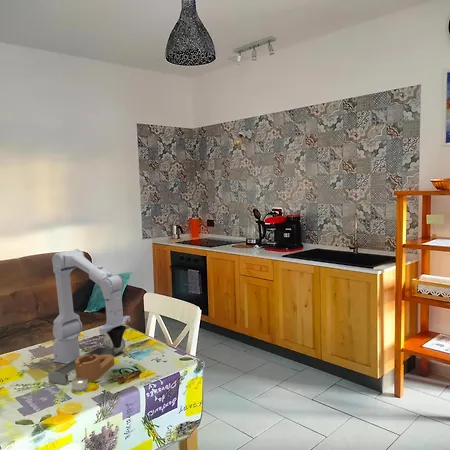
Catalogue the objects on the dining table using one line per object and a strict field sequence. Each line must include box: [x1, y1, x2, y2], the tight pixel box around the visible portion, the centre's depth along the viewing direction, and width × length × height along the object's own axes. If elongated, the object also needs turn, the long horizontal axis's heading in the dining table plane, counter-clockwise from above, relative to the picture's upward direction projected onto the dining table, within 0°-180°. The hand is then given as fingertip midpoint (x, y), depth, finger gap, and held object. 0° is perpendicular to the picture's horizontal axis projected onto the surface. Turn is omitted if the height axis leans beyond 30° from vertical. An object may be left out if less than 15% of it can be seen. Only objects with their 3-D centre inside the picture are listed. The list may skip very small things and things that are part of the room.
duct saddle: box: [47, 337, 126, 386], centre depth 154 cm, size 10×30×7 cm, turn 156°
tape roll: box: [71, 377, 89, 393], centre depth 136 cm, size 5×5×3 cm
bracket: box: [75, 354, 115, 383], centre depth 149 cm, size 18×8×7 cm, turn 167°
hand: (117, 347), depth 145 cm, fingers closed
